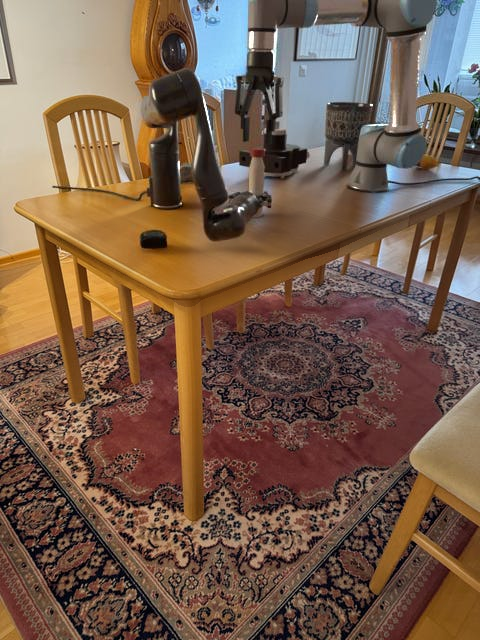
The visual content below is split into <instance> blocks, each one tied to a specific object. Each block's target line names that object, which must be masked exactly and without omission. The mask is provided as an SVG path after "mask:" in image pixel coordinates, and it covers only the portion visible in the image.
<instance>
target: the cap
mask: <svg viewBox="0 0 480 640" xmlns="http://www.w3.org/2000/svg"><path fill="white" fill-rule="evenodd" d="M258 147H259V146H258ZM258 147H250V148H249V151H250V156H251V157H264V155H265V149H264V148H258Z"/></svg>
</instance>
